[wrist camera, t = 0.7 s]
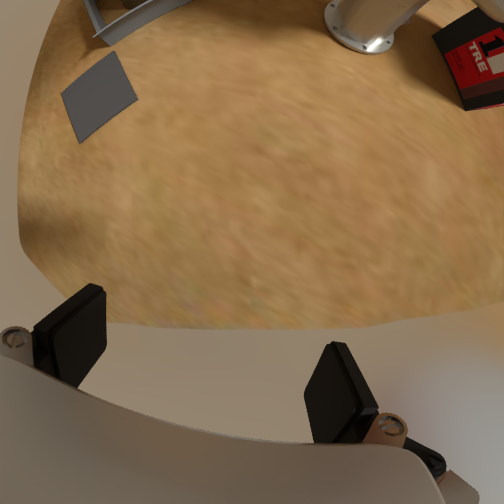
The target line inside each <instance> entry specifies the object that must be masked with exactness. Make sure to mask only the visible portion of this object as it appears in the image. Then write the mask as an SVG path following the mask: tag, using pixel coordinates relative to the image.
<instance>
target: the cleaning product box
mask: <svg viewBox="0 0 504 504" xmlns="http://www.w3.org/2000/svg"><path fill="white" fill-rule="evenodd" d="M432 37H433V39H434V41H435V43H436V45H437V47H438V49H439V51H440V52H441V54H442V56H443V58H444V61H445V63H446V65H447V67H448V69H449V71H450V74H451V76H452V78H453V80H454V83H455V85H456V88H457V90H458V93H459V95H460V98H461V101H462V103H463V106H464V109H465V111H470V110H479V109H488V108H493V107H499V106H504V23H501V22H497V21H495V20H493V19H492V18H490V17H489V16H488V15H486V14H485V13H484V12H483V11H482V10H481V9H480V8H479V7H477V8H475V9H473V10H472V11H470V12H468V13H467V14H465V15H463V16H462V17H460V18H458V19H457V20H455V21H454V22H452V23H450V24H449V25H447V26H446V27H444V28H443V29H441V30H440V31H438V32H437V33H435V34H434V35H432Z"/></svg>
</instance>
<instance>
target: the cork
mask: <svg viewBox="0 0 504 504" xmlns="http://www.w3.org/2000/svg"><path fill="white" fill-rule="evenodd" d="M121 1H122V3H123V5H124V7H125V8H126V9H134V8H136V7H137V6H139V5H141V4H143V3H144V2H146V1H148V0H121Z"/></svg>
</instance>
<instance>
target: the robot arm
mask: <svg viewBox="0 0 504 504" xmlns="http://www.w3.org/2000/svg"><path fill="white" fill-rule="evenodd" d="M428 1H429V0H333V1H331V2H330V3H329V4H328V5H327V7H326V8H325V11H324V22H325V24H326V27H327V28H328V30H329V31H330V33H331V34H332V35H333V36H334V37H335V38H336V39H337V40H338V41H339V42H341V43H342V44H344V45H345V46H347V47H348V48H350V49H352V50H354V51H357V52H360V53H364V54H370V55H376V54H381V53H384V52H386V51H387V50H388V49H389V48H390V47H391V46H392V44H393V42H394V31H395V30H396V29H397V28H398V27H399V26H401V25H405V24H409V23H410V19H409V18H410V17H411V16H412V15H413V14H414V13H415V12H416V11H418V10H419V9H420V8H421V7H422V6H423V5H425V4H426V3H427V2H428ZM471 1H472V2H474V3H475V4H476V5H477V6H478V7H479V8H480V9H481V10H482V11H483V12H484V13H485V14H486V15H488V16H489V17H490V18H492V19H493V20H495V21H497V22H501V23H504V0H471ZM106 346H107V335H106V292H105V291H103V287H101V286H98V285H95V284H92V283H89V284H88V285H86V286H85V287H84V288H82V289H81V290H80V291H78V292H77V293H76V294H74V295H73V296H72V297H70V298H69V299H68V300H66V301H65V302H64V303H62V304H61V305H60V306H59V307H57V308H56V309H55V310H53V311H52V312H51V313H50V314H48V315H47V316H46V317H45V318H43V319H42V320H41V321H40V322H39V323H37V324H36V325H35V326H34V330H33V331H32V332H31V333H30V332H29V331H28V330H27V329H25V328H22V327H18V326H14V327H9V328H6V329H5V330H3V331H2V332H1V333H0V504H478V503H479V495H478V492H477V491H476V490H475V489H474V488H473V487H472V486H470V485H469V484H468V483H467V482H465V481H464V480H463V479H462V478H460V477H459V476H458V475H456V474H455V473H454V472H453V471H451V470H449V471H448V472H447V471H446V461H445V459H444V458H443V457H442V456H441V455H440V454H439V453H437V452H435V451H434V450H431V449H429V448H427V447H425V446H423V445H422V444H419V443H418V442H416V441H414V440H412V439H410V438H408V437H406V436H407V433H408V428H407V425H406V423H405V422H404V421H403V420H402V419H401V418H400V417H398V416H397V415H395V414H392V413H381V414H379V412H378V410H377V409H378V408H379V407H378V405H377V403H376V401H375V399H374V397H373V395H372V393H371V391H370V389H369V387H368V385H367V383H366V381H365V379H364V377H363V375H362V373H361V371H360V369H359V368H358V366H357V364H356V362H355V360H354V358H353V356H352V354H351V352H350V351H349V348H348V347H347V345H346V344H345V343H342V342H335V341H332V342H331V343H330V344H327V345H326V346H325V348H324V351H323V353H322V355H321V357H320V359H319V362H318V364H317V366H316V368H315V370H314V372H313V374H312V376H311V378H310V380H309V383H308V385H307V387H306V389H305V391H304V400H305V404H306V409H307V413H308V418H309V422H310V427H311V431H312V436H313V440H314V443H298V442H283V441H271V440H262V439H253V438H246V437H239V436H232V435H227V434H221V433H215V432H210V431H205V430H201V429H195V428H192V427H187V426H183V425H179V424H175V423H171V422H168V421H164V420H161V419H157V418H154V417H151V416H148V415H144V414H141V413H138V412H135V411H132V410H129V409H127V408H124V407H121V406H118V405H116V404H113V403H110V402H108V401H105V400H103V399H100V398H98V397H95V396H93V395H91V394H88V393H86V392H84V391H82V390H79V389H77V388H78V386H79V385H80V383H81V382H82V381H83V379H84V378H85V377H86V375H87V374H88V372H89V371H90V370H91V368H92V367H93V366H94V364H95V363H96V362H97V360H98V358H99V357H100V356H101V355H102V354H103V352H104V351H105V349H106Z"/></svg>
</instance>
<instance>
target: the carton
mask: <svg viewBox="0 0 504 504" xmlns="http://www.w3.org/2000/svg"><path fill="white" fill-rule="evenodd" d="M83 1H84V3H85V6H86V8H87V11H88V13H89V16H90V18H91V21H92V23H93V26H94V28H95V30H96V34H95V35H94V36H93V38H94V37H95V36H97V35H98V36H99V37H100V38H101V39H102V40H104V41H105V42H106V43H107V44H108V45H109V46H112V45H114V44H115V43H117V42H118V41H120V40H121V39H123V38H124V37H126V36H127V35H129V34H130V33H132V32H134V31H135V30H137V29H139V28H140V27H142V26H144V25H145V24H147V23H149V22H151V21H152V20H154V19H156V18H158V17H160V16H162V15H164V14H165V13H167V12H169V11H171V10H173V9H175V8H178V7H180V6H182V5H184V4H186V3H188V2H191V1H193V0H148V1H146V2H144V3H143V4H141V5H139V6H137V7H136V8H134V9H132V10H130V11H129V12H127V13H126V14H124V15H122V16H121V17H119V18H118V19H116V20H115V21H113V22H112V23H110V24H109V25H107V26H106V25H105V23H104V20H103V18H102V16H101V14H100V12H99V10H98V7H97V5H96V3H95V2H97V1H98V0H83Z"/></svg>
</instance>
